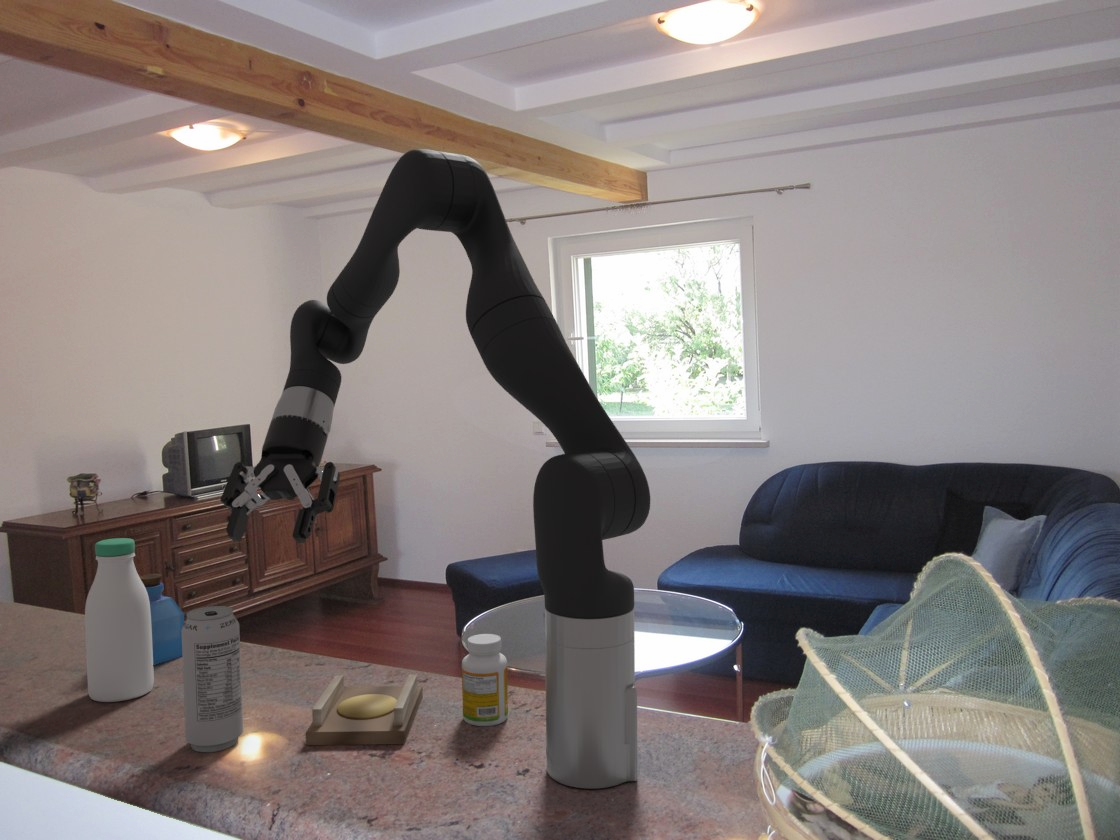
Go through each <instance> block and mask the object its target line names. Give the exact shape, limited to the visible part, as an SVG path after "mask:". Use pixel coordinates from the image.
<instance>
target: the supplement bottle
mask: <svg viewBox="0 0 1120 840" xmlns="http://www.w3.org/2000/svg"><path fill="white" fill-rule="evenodd" d="M466 641H467V652H468V654H467V655H466V656H465V657H463V659H462V661H461V686H462V687H461V689H462V691H461V692H462V718H463V721H464V722H465V723H467V724H469V725H471V726H476V727H491V726H492V727H493V726H497V725H500V724H501V723H503V722H505V721H506V720H507V719H508V716H509V700H508V699H509V695H508V694H509V693H508V690H509V689H508V687H509V685H508V684H509V683H508V660H507V658H506V656H505V655H504V654H503V653H501V651H502V638H501V636H500V635H498V634H494V633H479V634H474V635H471V636H469V637H468V638H467V640H466Z"/></svg>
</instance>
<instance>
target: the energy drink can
mask: <svg viewBox="0 0 1120 840" xmlns="http://www.w3.org/2000/svg"><path fill="white" fill-rule="evenodd" d="M233 612H234V609H233V607H230V606H225V605H221V606H220V605H214V606H204V607H198V608H195V609H192V610H190V611H188V612H187V613H186V620H185V621H184V626H183V628H182V630H181V632H182V678H183V679H182V680H183V701H184V702H183V703H184V705H183V706H184V722H185V723H184V724H185V725H184V726H185V731H184V732H185V741H186V743H188V744H190V746H191V749H192V750H193V751H196V752H201V753H214V752H220V751H223V750H226V749H229V748H231V747H233V746H235V745H236V744H237V743H238V742H239V737H240V736H241V735H242V734H243V732H244V725H243V724H244V722H243V721H244V719H243V717H244V716H243V695H242V690H243V689H242V663H241V661H242V660H241V640H240V634H241V633H240V622H239V621H238V619H237V618H236V616H235V615H234V613H233Z"/></svg>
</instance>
